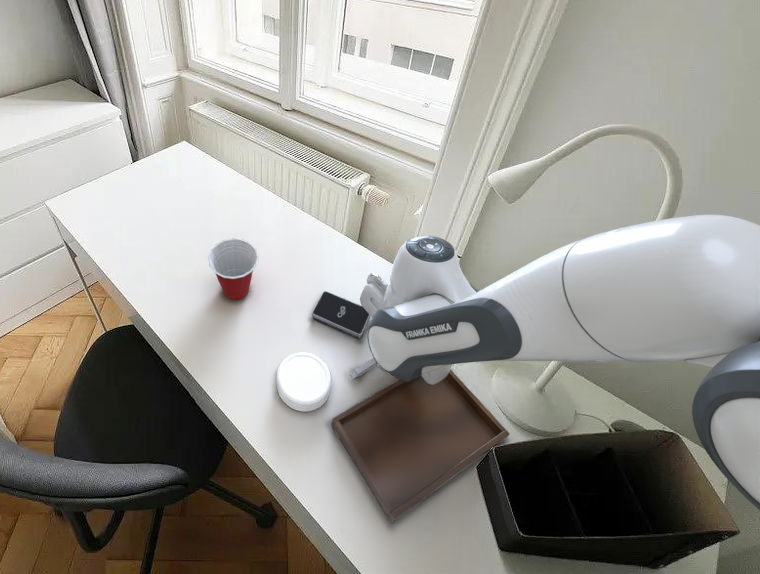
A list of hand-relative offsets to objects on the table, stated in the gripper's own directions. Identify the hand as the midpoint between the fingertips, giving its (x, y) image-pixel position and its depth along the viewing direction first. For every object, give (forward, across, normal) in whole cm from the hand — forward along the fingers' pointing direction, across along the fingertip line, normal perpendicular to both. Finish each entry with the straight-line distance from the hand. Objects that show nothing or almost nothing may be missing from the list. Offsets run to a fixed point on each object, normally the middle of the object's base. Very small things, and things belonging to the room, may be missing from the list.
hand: (393, 350), depth 80 cm
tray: (+2, +13, -6) cm, 14 cm away
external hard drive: (+2, -12, -4) cm, 13 cm away
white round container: (+2, -3, -19) cm, 19 cm away
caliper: (+2, 0, 0) cm, 2 cm away
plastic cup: (+2, -29, -21) cm, 36 cm away
